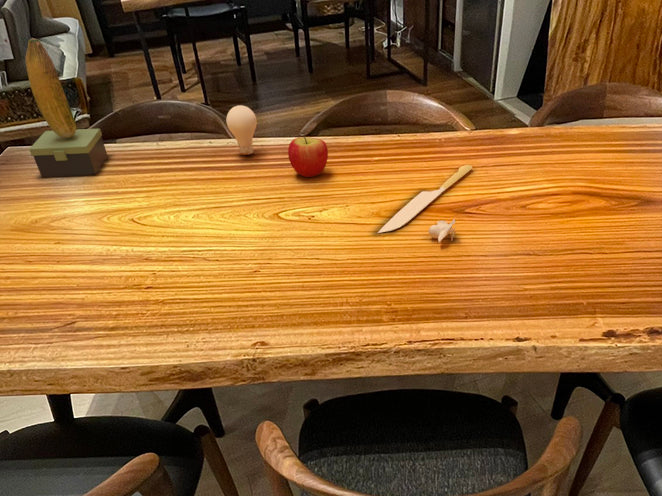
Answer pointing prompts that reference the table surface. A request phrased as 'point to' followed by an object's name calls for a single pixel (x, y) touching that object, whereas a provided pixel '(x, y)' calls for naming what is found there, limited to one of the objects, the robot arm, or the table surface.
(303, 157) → the apple
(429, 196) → the knife
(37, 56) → the vegetable
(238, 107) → the light bulb
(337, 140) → the table surface
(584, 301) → the table surface
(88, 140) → the block
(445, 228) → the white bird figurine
